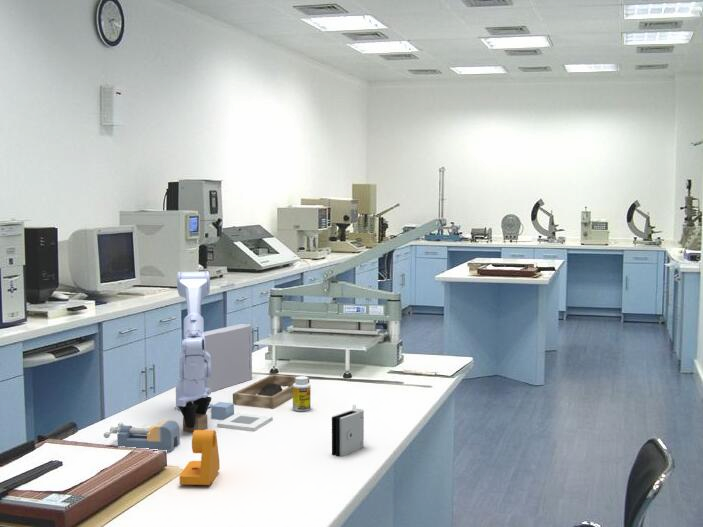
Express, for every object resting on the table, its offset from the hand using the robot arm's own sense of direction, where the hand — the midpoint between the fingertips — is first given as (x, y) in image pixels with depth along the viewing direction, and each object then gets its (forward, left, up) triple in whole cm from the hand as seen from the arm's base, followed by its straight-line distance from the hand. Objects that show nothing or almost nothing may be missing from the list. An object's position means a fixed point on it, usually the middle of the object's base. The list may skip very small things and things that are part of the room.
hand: (195, 424), depth 231 cm
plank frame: (+4, +42, -1) cm, 42 cm away
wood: (+3, +42, -2) cm, 42 cm away
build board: (+10, +11, -1) cm, 15 cm away
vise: (-5, -18, -2) cm, 19 cm away
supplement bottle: (+20, +30, -2) cm, 36 cm away
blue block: (+1, +14, -2) cm, 14 cm away
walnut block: (0, 0, -1) cm, 1 cm away
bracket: (+22, -34, -2) cm, 41 cm away
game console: (-18, +48, -2) cm, 52 cm away
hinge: (+47, 0, -2) cm, 47 cm away
